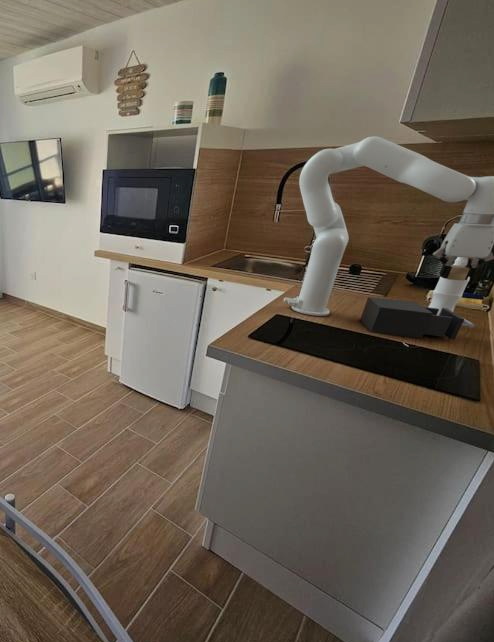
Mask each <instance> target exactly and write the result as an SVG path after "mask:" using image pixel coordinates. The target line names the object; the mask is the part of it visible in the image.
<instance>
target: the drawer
mask: <svg viewBox="0 0 494 642" xmlns="http://www.w3.org/2000/svg"><path fill="white" fill-rule="evenodd" d="M423 307H424V308H426V309H427V310H429V311H430V312H432V313H433V314H432V317H431V319H430V321H429V323H428V326H427V328H426V330H425V332H424V335H427V336H433V337H434V336H435V337H441V338H442V337H446V338H448V339H449V340H456V338H457V336H458V334H459V332H460V329H462V328H461V327H462V326H463V327H464V326H465V327H468V328H469V329H473V328H474V327H475V324H474V323H472V322H471V321H469V320H467V319H465V318H464V317H462V316H460V315H458V314H457V313H456V312H454V311H453V312H452V311H450V310H449V309H447V308H442V310H441V312H440V314H439V315H437V313H438V311H439V309H438V308H429V306H423Z"/></svg>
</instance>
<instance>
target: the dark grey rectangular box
mask: <svg viewBox="0 0 494 642" xmlns="http://www.w3.org/2000/svg"><path fill="white" fill-rule="evenodd" d="M424 307H425V306H423V305H421V304H420V303H418V302H417V301H408V300H399V299H389V298H382V297H381V298H380V297H373V296H372V297H371V296H368V297H367V299H366V302H365V305H364V308H363V311H362V314H361V316H360V320H359V321H360V322H361V323H362V324H363V325H364V326H365V327H366V328H367V329H368V330H369V332H371V333H376V334H384V335H385V334H386V335H393V336H401V337H407V338H414V339H423V336H424V335H425V334H424V332H425V330H426V328H427V326H428V323H429V321H430V319H431V317H432V314H433V313H432V312H430V311H429V310H427V309H426V308H424Z"/></svg>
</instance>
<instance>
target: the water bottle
mask: <svg viewBox="0 0 494 642" xmlns="http://www.w3.org/2000/svg"><path fill="white" fill-rule="evenodd" d="M467 260H468V258H466V257H456V258H455V259H454V263H452V265H461V266H466V265H467ZM470 279H471V276H470V277H468V279H467V280H464V281H462V280H449V279H446V278H442V277H440V276H439V279H438V280H437V284H436V286H435V288H434V290H433V292H432V299H431V302H430V304H429V305H428V307H429V308H438V309H439V311H438V313H437V315H439V314H440V312H441V310H442V308H447V309H449V310H450V311H452V312H454V311H455V307H456V305H457V303H458V302H459V301H460V300H461V299H462V297H463V294H464V291H465V289H466V287H467V285H468V283H469V282H470Z"/></svg>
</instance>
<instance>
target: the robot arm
mask: <svg viewBox="0 0 494 642" xmlns="http://www.w3.org/2000/svg"><path fill="white" fill-rule="evenodd" d="M360 167H361V168H362V167H367V168H369V169H371V170H373V171H375V172H378V173H380V174H381V175H384V176H386V177H388V178H390V179H392V180H394V181H397V182H399V183H401V184H405V185H408V186H411V187H413V188H416V189H418V190H420V191H422V192H425V193H427V194H429V195H431V196H433V197H435V198H437V199H440V200H442V201H443V202H446V203H458V202H462V201H467V202H466V204H465V207H464V209H463V212H462V214H461V216H460V218H459V220H458V222H454V223H453V225H452V226H451V228H450V229H449V231H448V232H447V234H446V236H445V237H444V239H443V241H442V243H441V245H440V248H438V249H437V250H436V251H434V252H433V253H432V256H433V257H435V258H436V259H438V261H439V262H440V263H441V265H442V266H441V268H440V270H439V278H440V277H442V278H448V275H449V273H450V271H451V268H452V266H451V265H453V262H455V260H456V259H457V257H466V258H468V260H467V265H466V266H465V267H468V268H470V269H469V271H468V274H467V276H466V278H465V280H467V279H468V277H470V278H471V275H472V272H473V271H474V269H475V268H477V267H479V266H480V265H482V264H484V263H485V262H489V261H492V260H494V254H493V252H492V249H493V246H494V176H493V175H490V176H489V175H488V176H487V175H486V176H468V175H467V174H465V173H462V172H459V171H457V170H455V169H452V168H450V167H447V166H445V165H443V164H440V163H438V162H436V161H433V160H432V159H430V158H428V157H427V156H425V155H422V153H421V154H420V153H418V152H416V151H413V150H411V149H409V148H406V147H405V146H401V145H399V144H398V143H394V142H392V141H390V140H387V139H385V138H383V137H381V136H376V135H375V136H374V135H373V136H368V137H365V138H363V139H362V140H361V141H358V142H355V143H351V144H348V145H344V146H340V147H336V148H325V149H322V150H319V151H317V152H316V153H314V155H312V156H311V157H310V158H309V160H307V162H306V163H305V164H304V165H303V167H302V169H301V172H300V175H299V179H298V180H299V181H298V184H299V185H298V186H299V190H300V194H301V199H302V203H303V206H304V211H305V213H306V219H307V222H308V224H309V225H310V226H311V227H313V231H314V234H315V239H314V241H313V244H312V248H311V252H310V256H309V260H308V264H307V268H306V271H305V274H304V278H303V281H302V285H301V289H300V291H299V296H298V295H297V296H296V297H293V298H290V297H284V298H283V303H287V304H288V305H291V307H290V308H291V309H292V310H293V311H295V312H297V313H300V314H304V315H308V316H315V317H325V316H329V315H330V312H331V311H330V309H329V308H327V306H328V303H329V300H330V297H331V294H332V290H333V287H334V285H335V282H336V278H337V274H338V271H339V269H340V265H341V262H342V259H343V256H344V253H345V251H346V248H347V245H348V243H349V239H350V238H349V232H348V229H347V226H346V221H345V217H344V215H343V212H342V209H341V206H340V205H339V204H338V203H337V202H335V199H334V197H333V193H332V189H331V186H330V183H329V177H330V175H332V174H336V173H340V172H345V171H349V170H353V169H356V168H357V169H358V168H360ZM444 255H445V256H444Z"/></svg>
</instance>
